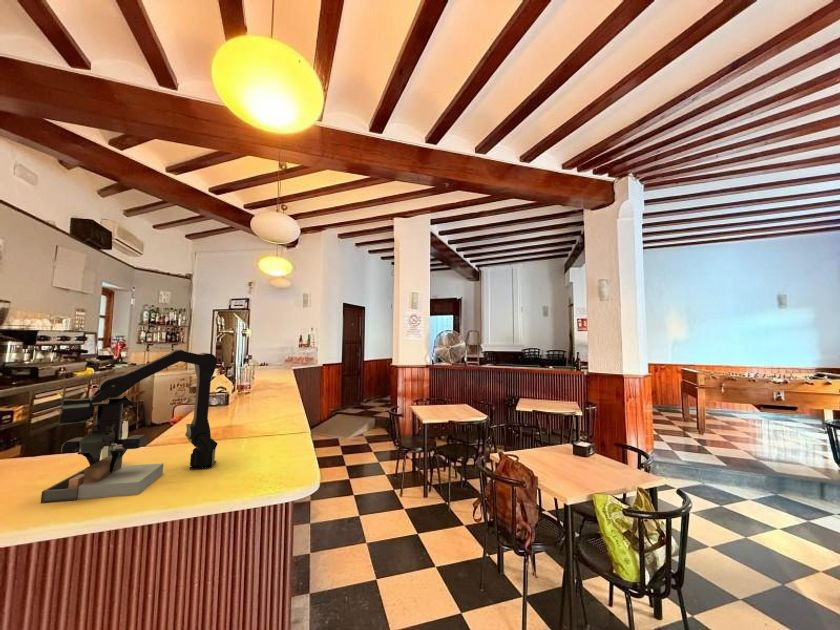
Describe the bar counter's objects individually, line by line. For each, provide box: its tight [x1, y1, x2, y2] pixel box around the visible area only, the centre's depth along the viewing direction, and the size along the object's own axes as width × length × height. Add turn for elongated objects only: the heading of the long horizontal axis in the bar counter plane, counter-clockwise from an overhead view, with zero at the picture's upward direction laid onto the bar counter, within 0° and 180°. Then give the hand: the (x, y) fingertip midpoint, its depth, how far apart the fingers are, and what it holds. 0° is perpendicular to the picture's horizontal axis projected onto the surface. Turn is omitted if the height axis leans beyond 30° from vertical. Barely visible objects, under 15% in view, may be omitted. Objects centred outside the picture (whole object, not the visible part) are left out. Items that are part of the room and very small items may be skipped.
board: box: [77, 462, 164, 500], centre depth 100 cm, size 14×15×4 cm
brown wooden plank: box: [83, 455, 124, 483], centre depth 99 cm, size 4×11×4 cm, turn 16°
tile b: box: [68, 474, 84, 489], centre depth 95 cm, size 4×4×2 cm
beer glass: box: [100, 420, 129, 466], centre depth 114 cm, size 7×7×15 cm
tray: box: [40, 468, 85, 504], centre depth 98 cm, size 8×16×3 cm, turn 16°
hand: (103, 472), depth 99 cm, fingers open, 4 cm apart
